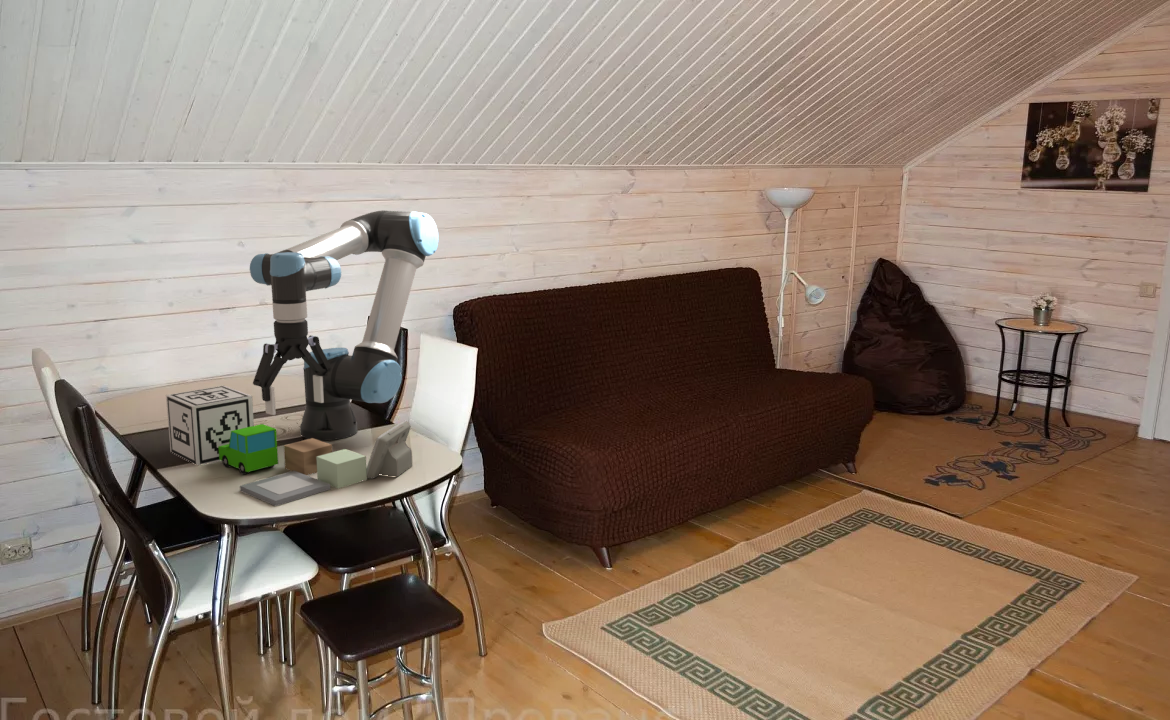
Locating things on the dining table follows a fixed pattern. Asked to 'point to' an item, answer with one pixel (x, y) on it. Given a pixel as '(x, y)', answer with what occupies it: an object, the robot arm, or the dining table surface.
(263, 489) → the plate
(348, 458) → the green block
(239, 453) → the toy car
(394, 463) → the digital clock
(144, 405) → the dining table surface
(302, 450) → the walnut block
